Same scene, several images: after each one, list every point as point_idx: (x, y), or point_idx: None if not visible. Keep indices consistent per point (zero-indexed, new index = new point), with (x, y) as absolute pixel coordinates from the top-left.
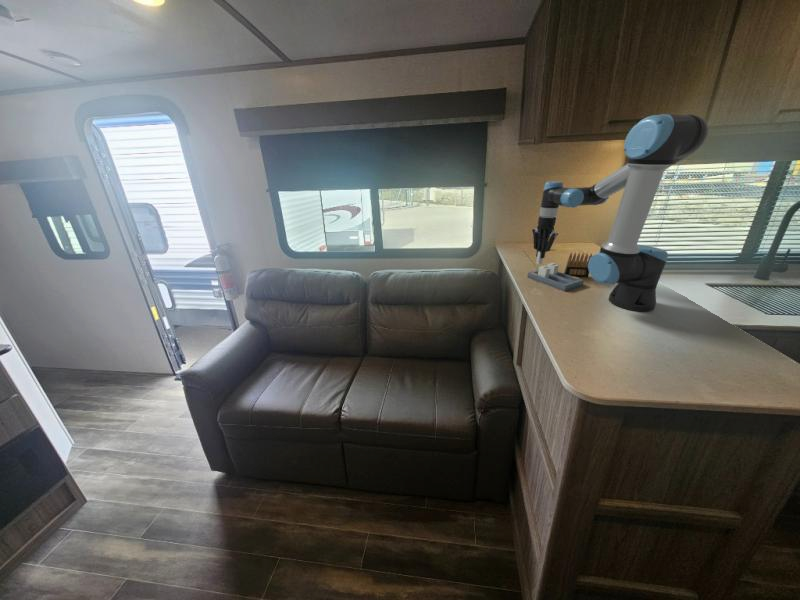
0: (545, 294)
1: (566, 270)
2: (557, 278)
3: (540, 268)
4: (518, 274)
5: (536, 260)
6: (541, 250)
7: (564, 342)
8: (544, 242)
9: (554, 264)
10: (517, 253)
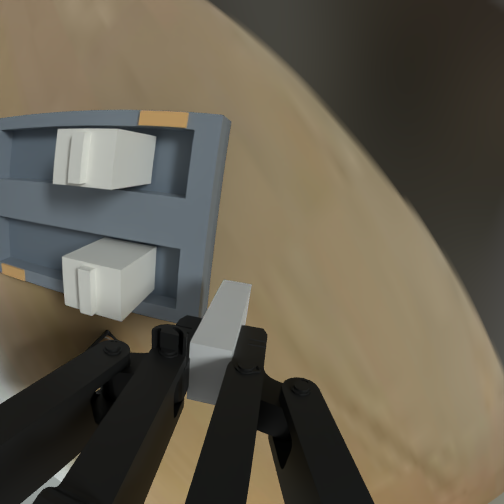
0: (52, 17)
1: (88, 348)
2: (46, 182)
3: (108, 129)
4: (315, 130)
5: (247, 298)
6: (175, 357)
7: None
8: (94, 439)
9: (83, 293)
10: (468, 453)
